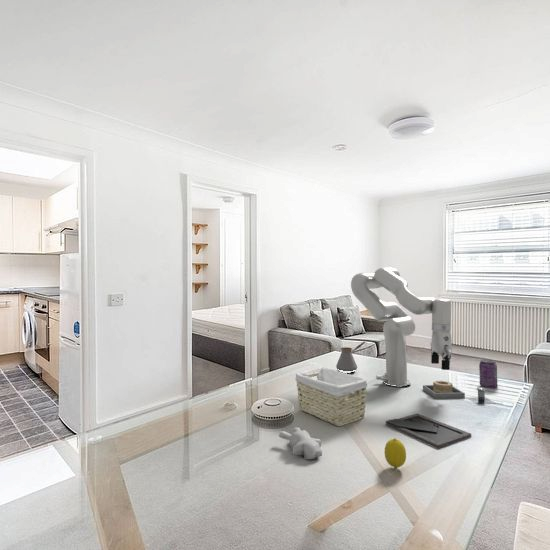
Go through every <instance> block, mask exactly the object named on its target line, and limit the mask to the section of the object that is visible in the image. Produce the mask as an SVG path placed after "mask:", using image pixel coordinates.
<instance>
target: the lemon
mask: <svg viewBox="0 0 550 550" xmlns="http://www.w3.org/2000/svg"><path fill="white" fill-rule="evenodd" d="M384 458H385V460H386V463H388V465H390V466H391V467H393V468H394V469H397V468H400V467H402V466H403V465H404V464H405V462H406V459H407V451H406V447H405V445H404V443H403V442H402V441H400V440H399V439H397V438H395V437H394V438H392V439H389V440H388V441H387V442H386V443H385V445H384Z"/></svg>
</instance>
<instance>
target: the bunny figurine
mask: <svg viewBox="0 0 550 550" xmlns="http://www.w3.org/2000/svg"><path fill="white" fill-rule="evenodd" d="M293 431H294V432H292V433H289V432H287V431H284V430H280V431H279V434H278V437H279V438H281V439H285V440H288V441H289V445H290V447H291V450H292V455H294V456H303V458H304V459H305V460H313V459H316V458H319V457H322V456H323V451H322V449H321V446H322V440H321V439H320V438H314V437H311V435H310V433H309V432H308V430H305V429H304V430H301V428H300V427H297V426H296V427H294V428H293Z"/></svg>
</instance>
